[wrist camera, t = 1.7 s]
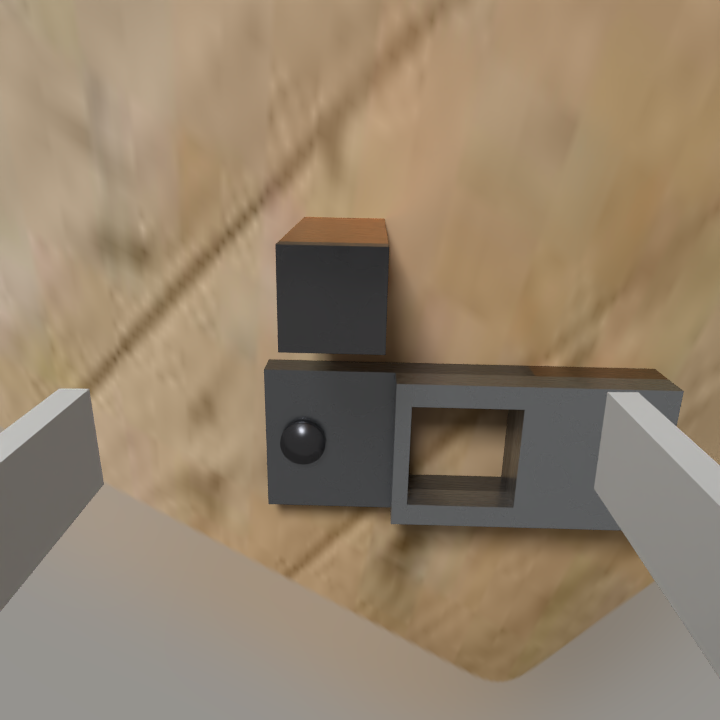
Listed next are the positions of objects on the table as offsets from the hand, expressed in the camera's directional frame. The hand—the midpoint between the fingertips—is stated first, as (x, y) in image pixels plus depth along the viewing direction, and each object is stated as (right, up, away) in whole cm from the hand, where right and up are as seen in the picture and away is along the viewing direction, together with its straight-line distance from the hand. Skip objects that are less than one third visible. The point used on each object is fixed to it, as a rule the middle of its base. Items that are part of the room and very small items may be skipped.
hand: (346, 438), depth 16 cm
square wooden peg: (-1, +9, +23) cm, 25 cm away
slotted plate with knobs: (+7, -3, +27) cm, 28 cm away
